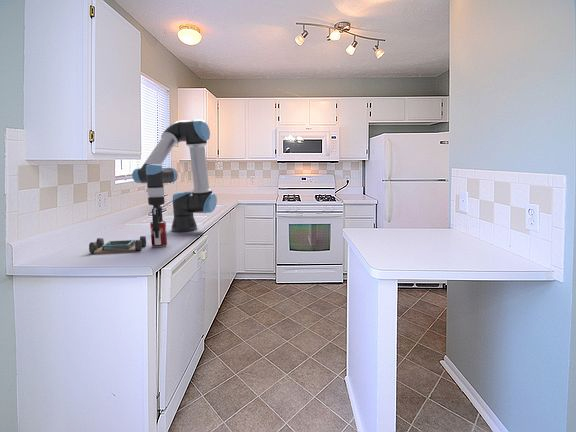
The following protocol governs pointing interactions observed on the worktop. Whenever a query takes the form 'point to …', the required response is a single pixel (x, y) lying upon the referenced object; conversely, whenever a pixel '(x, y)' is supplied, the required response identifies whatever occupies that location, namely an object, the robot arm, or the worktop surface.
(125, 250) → the chassis
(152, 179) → the robot arm
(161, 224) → the soda can
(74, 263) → the worktop surface
